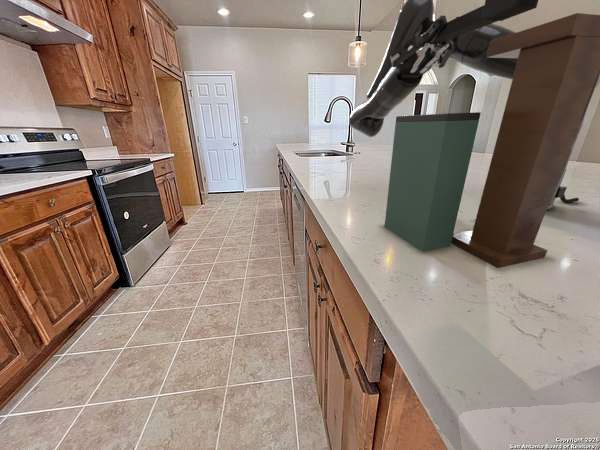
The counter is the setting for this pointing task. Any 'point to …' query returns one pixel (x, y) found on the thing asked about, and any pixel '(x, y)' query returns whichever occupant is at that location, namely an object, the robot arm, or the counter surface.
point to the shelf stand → (533, 135)
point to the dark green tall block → (429, 176)
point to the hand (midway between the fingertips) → (452, 20)
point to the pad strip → (484, 17)
